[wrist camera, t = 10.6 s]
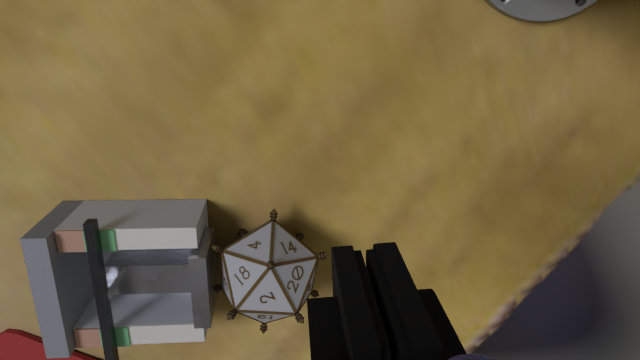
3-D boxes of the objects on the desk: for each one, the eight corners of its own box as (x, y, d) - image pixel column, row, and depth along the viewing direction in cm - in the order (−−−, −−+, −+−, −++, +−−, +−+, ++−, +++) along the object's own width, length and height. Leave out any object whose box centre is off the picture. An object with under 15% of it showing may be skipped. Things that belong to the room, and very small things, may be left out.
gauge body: (206, 199, 37) (192, 235, 31) (213, 301, 40) (202, 352, 34) (62, 200, 36) (20, 238, 30) (81, 305, 40) (46, 358, 34)
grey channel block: (212, 192, 36) (202, 222, 31) (220, 318, 40) (212, 363, 35) (107, 193, 35) (79, 224, 30) (126, 321, 39) (103, 368, 34)
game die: (263, 208, 42) (265, 174, 32) (336, 269, 41) (361, 253, 32) (193, 287, 39) (173, 276, 30) (270, 354, 38) (276, 364, 29)
